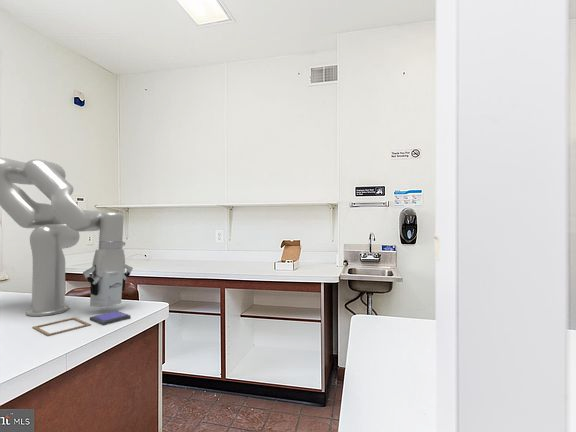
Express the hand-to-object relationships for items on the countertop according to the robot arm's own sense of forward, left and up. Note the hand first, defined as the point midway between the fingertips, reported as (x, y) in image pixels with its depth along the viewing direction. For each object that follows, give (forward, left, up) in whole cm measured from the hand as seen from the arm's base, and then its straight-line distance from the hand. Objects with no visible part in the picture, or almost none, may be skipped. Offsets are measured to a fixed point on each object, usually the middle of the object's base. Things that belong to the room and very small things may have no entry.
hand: (108, 292), depth 115 cm
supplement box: (-1, 0, -5) cm, 5 cm away
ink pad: (+10, -4, -7) cm, 13 cm away
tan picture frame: (+5, -16, -7) cm, 19 cm away
